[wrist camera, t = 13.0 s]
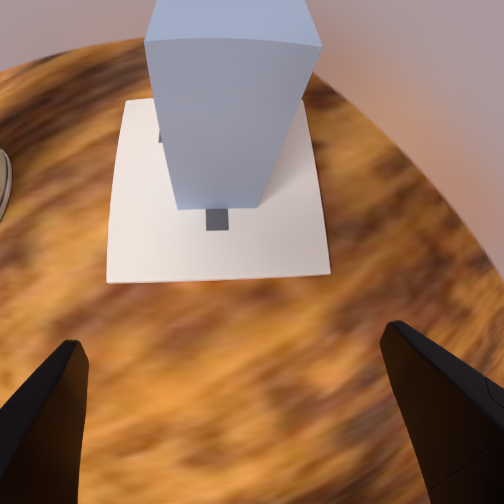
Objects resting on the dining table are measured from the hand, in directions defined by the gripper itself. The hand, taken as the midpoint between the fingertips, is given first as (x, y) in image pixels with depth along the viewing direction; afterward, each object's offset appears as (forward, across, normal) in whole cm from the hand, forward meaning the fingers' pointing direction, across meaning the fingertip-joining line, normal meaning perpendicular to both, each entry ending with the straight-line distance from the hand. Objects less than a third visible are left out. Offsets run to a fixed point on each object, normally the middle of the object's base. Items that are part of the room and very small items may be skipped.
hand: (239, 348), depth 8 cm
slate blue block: (+14, 0, 0) cm, 14 cm away
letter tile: (+15, 0, 0) cm, 15 cm away
